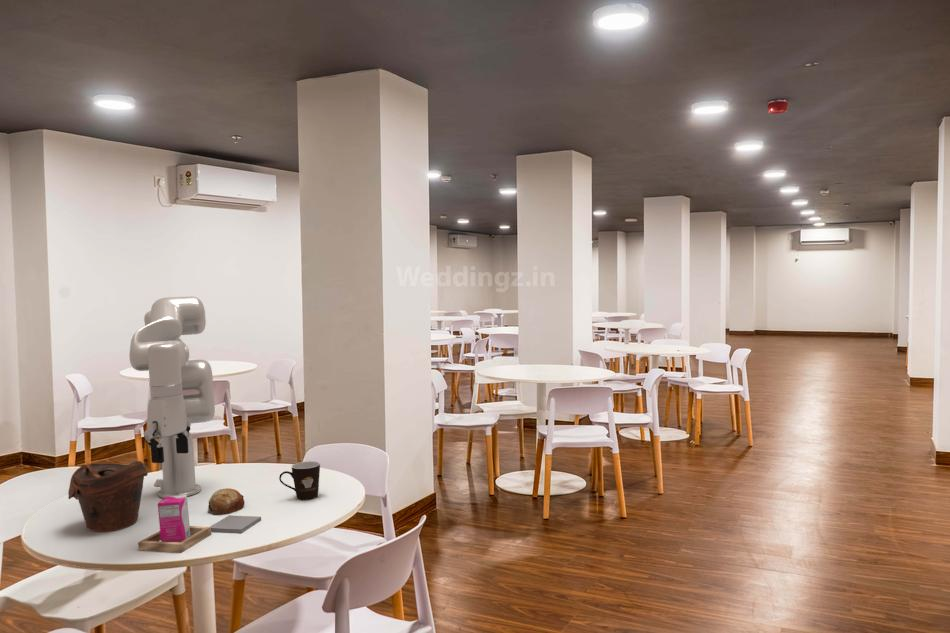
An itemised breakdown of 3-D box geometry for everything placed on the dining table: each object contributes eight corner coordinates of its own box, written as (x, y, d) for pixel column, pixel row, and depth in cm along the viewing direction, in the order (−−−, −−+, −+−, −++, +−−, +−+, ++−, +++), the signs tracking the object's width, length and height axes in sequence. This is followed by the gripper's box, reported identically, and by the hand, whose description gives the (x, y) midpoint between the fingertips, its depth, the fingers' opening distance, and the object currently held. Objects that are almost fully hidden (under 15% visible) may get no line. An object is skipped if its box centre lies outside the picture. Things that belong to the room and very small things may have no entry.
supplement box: (168, 538, 182) (165, 495, 182) (191, 537, 183) (188, 494, 182) (159, 547, 177) (157, 502, 176) (183, 545, 177) (181, 501, 177)
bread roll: (209, 520, 207) (196, 499, 204) (237, 498, 213) (225, 477, 211) (225, 527, 200) (212, 506, 197) (253, 504, 207) (241, 483, 204)
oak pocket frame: (138, 550, 175) (137, 542, 175) (170, 532, 187) (170, 525, 187) (181, 552, 172) (181, 544, 172) (211, 534, 184) (210, 526, 184)
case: (74, 520, 200) (70, 459, 199) (151, 509, 208) (147, 450, 207) (66, 541, 184) (61, 475, 183) (149, 528, 192) (145, 465, 191)
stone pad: (208, 531, 187) (207, 527, 187) (229, 518, 196) (229, 515, 196) (241, 533, 184) (241, 529, 184) (261, 520, 194) (260, 516, 194)
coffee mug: (325, 492, 218) (323, 461, 217) (316, 501, 209) (314, 468, 209) (289, 493, 219) (287, 461, 218) (279, 501, 210) (277, 469, 210)
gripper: (175, 386, 187) (179, 449, 188) (129, 397, 170) (134, 466, 171) (199, 386, 185) (203, 449, 186) (156, 397, 169) (161, 466, 169)
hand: (170, 457), depth 179 cm, fingers open, 9 cm apart
